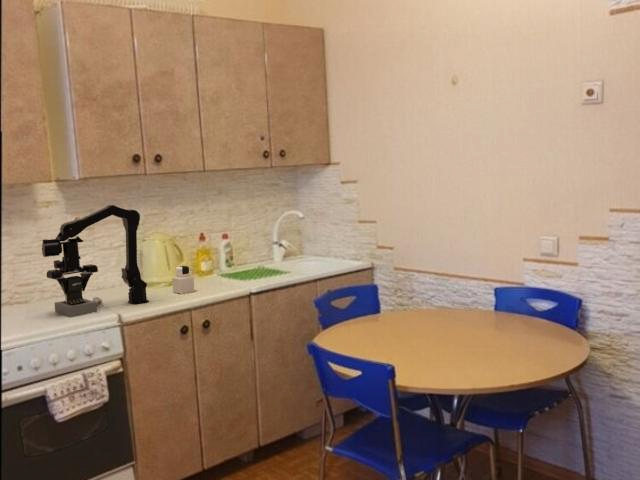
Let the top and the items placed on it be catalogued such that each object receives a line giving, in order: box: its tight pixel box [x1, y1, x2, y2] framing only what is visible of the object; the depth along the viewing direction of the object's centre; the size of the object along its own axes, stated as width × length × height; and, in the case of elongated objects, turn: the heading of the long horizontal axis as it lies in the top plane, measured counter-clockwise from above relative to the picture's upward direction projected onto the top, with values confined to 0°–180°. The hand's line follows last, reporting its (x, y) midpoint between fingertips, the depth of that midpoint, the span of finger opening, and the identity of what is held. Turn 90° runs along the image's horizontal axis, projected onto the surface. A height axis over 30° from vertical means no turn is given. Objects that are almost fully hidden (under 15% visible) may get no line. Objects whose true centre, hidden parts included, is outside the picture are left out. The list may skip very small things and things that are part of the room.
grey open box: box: [53, 298, 98, 318], centre depth 246 cm, size 11×14×4 cm
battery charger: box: [64, 275, 84, 305], centre depth 246 cm, size 7×4×11 cm, turn 142°
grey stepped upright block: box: [171, 265, 195, 295], centre depth 279 cm, size 7×7×12 cm
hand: (74, 292), depth 246 cm, fingers closed on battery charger, 7 cm apart
